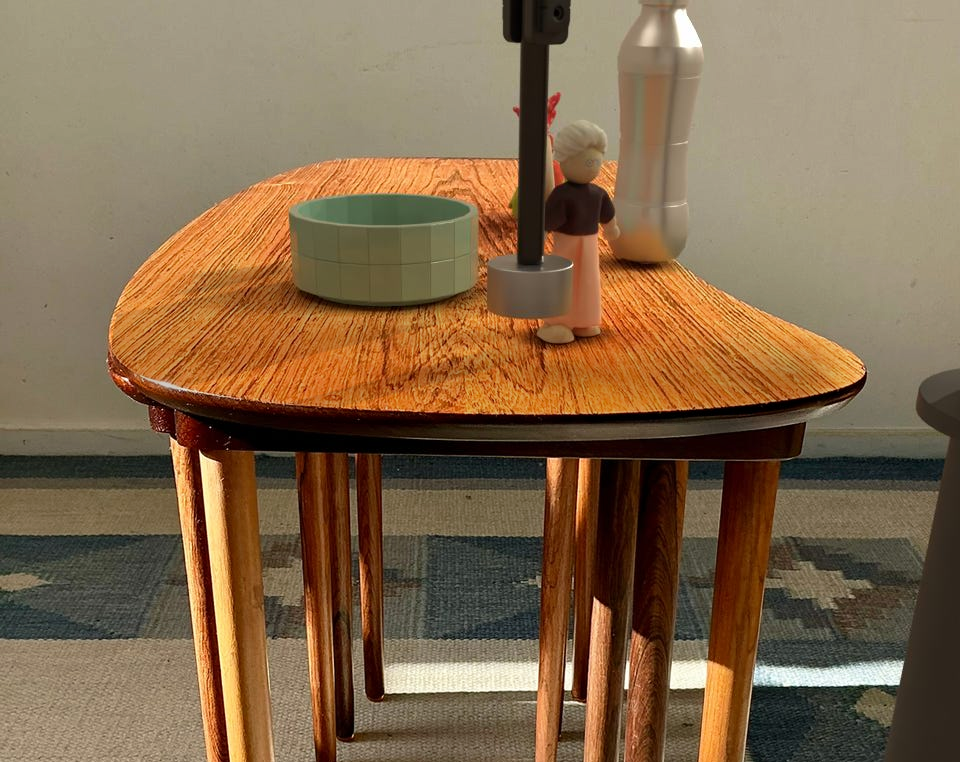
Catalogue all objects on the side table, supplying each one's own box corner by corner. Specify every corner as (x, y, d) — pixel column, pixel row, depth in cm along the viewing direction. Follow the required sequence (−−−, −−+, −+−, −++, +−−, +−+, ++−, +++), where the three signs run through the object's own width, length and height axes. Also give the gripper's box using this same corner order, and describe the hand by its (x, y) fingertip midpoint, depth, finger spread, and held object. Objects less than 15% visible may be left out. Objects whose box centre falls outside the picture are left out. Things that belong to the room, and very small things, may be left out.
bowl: (496, 274, 93) (497, 198, 90) (449, 317, 81) (449, 231, 79) (331, 263, 95) (328, 189, 93) (265, 303, 84) (259, 220, 82)
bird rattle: (582, 251, 110) (571, 193, 116) (595, 137, 101) (583, 80, 107) (513, 252, 110) (505, 194, 115) (520, 137, 101) (511, 80, 106)
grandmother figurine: (564, 351, 74) (574, 128, 68) (513, 341, 76) (518, 122, 70) (630, 326, 80) (644, 116, 74) (580, 316, 82) (591, 112, 76)
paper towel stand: (578, 301, 71) (593, -69, 62) (562, 322, 67) (576, -71, 58) (497, 296, 72) (501, -68, 63) (477, 316, 68) (478, -70, 59)
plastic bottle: (676, 252, 100) (700, -25, 91) (694, 270, 94) (721, -23, 85) (598, 252, 100) (613, -25, 90) (611, 271, 94) (629, -24, 84)
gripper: (709, -412, 51) (676, 48, 59) (531, -350, 61) (524, 35, 70) (560, -439, 48) (547, 53, 56) (398, -368, 58) (407, 38, 66)
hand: (534, 41), depth 63 cm, fingers closed on paper towel stand
